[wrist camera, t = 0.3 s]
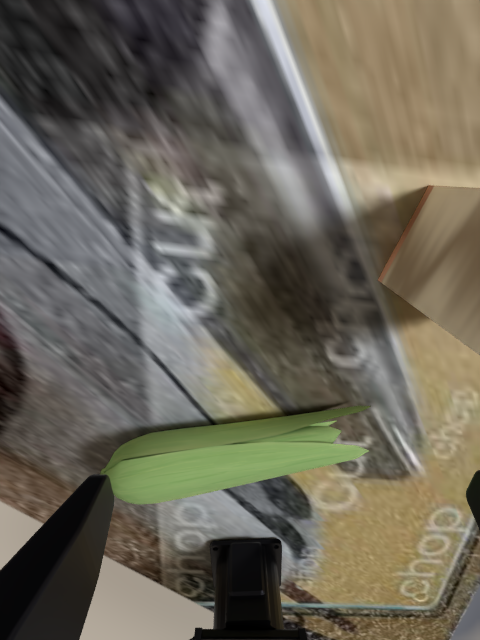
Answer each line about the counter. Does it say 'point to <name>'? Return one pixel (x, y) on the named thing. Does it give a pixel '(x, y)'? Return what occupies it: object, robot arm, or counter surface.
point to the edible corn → (225, 456)
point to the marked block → (442, 261)
